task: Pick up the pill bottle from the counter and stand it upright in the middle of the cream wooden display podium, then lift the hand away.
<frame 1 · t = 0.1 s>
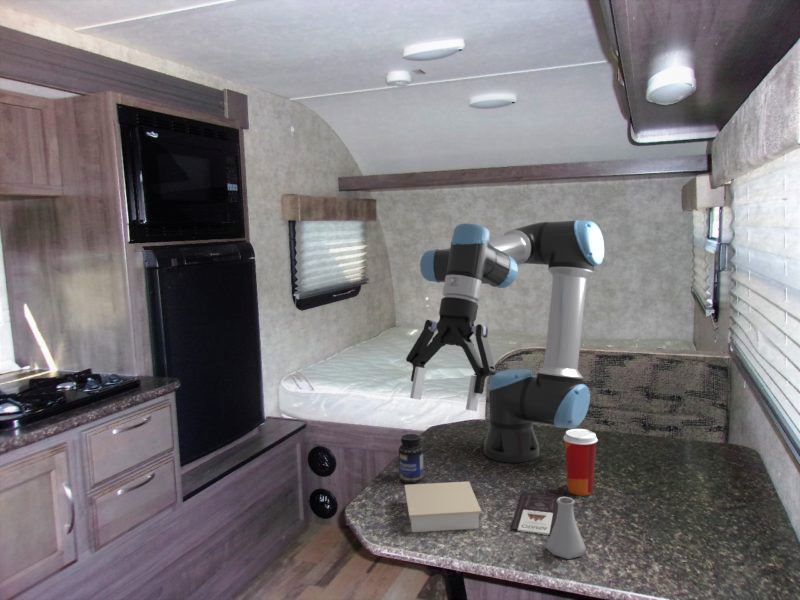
hand: (442, 404, 117), 28 cm above the table, tool tilted 20°, fingers open, 13 cm apart
flask: (565, 550, 115), on the table
paper cup: (580, 491, 140), on the table
podium: (441, 514, 130), on the table
chocolate bar: (538, 516, 130), on the table
pill bottle: (411, 479, 150), on the table
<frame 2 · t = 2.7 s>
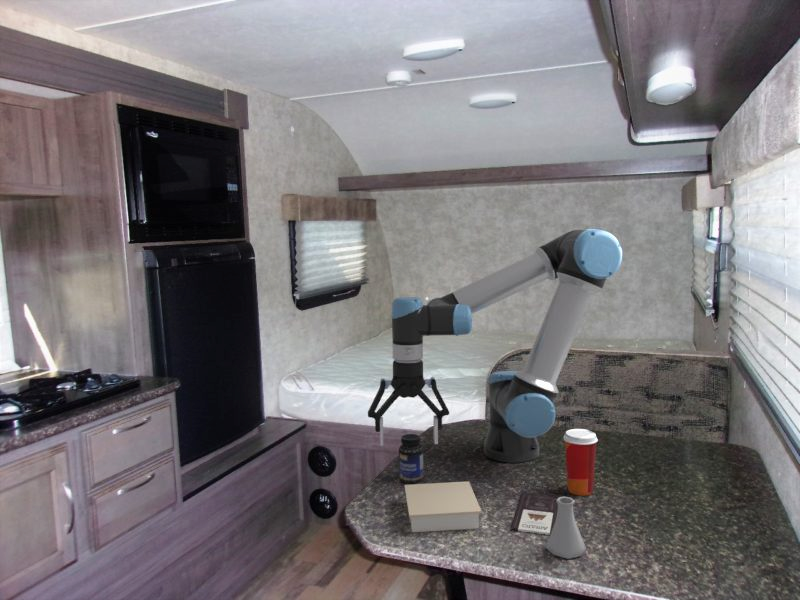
hand: (408, 443, 149), 9 cm above the table, tool pointing down, fingers open, 13 cm apart
nothing on the table moved.
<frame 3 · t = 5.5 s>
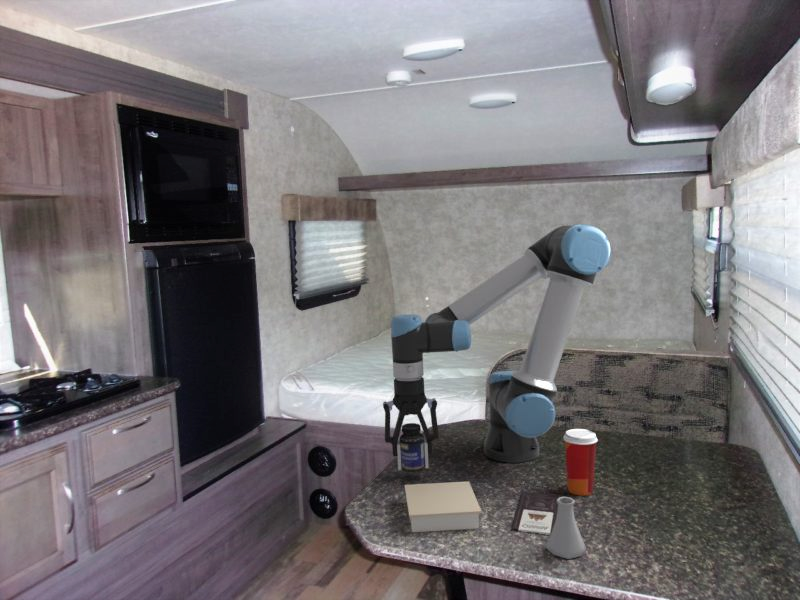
hand: (413, 466, 150), 3 cm above the table, tool pointing down, fingers closed on pill bottle, 6 cm apart
pill bottle: (413, 469, 150), point 3 cm above the table, touching gripper
everything else where it was.
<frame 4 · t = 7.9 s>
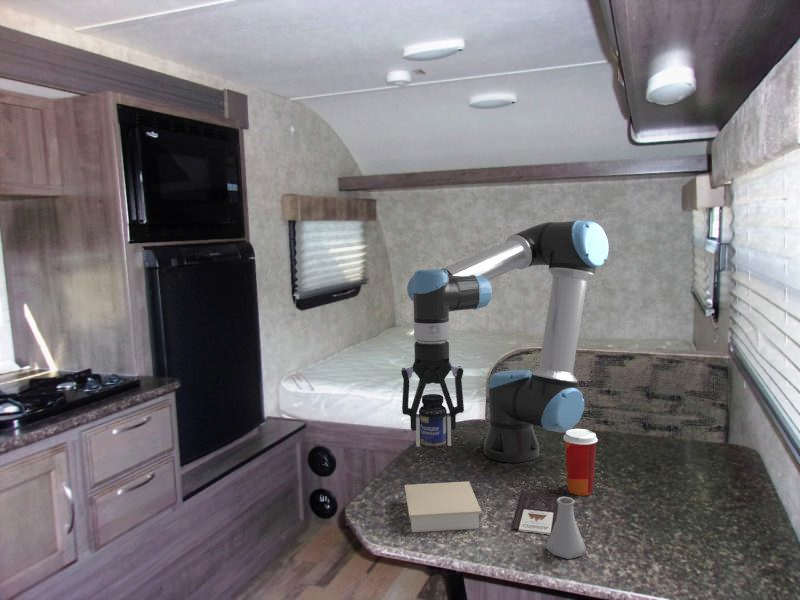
hand: (433, 443, 131), 15 cm above the table, tool pointing down, fingers closed on pill bottle, 6 cm apart
pill bottle: (433, 446, 131), point 15 cm above the table, touching gripper
everything else where it was.
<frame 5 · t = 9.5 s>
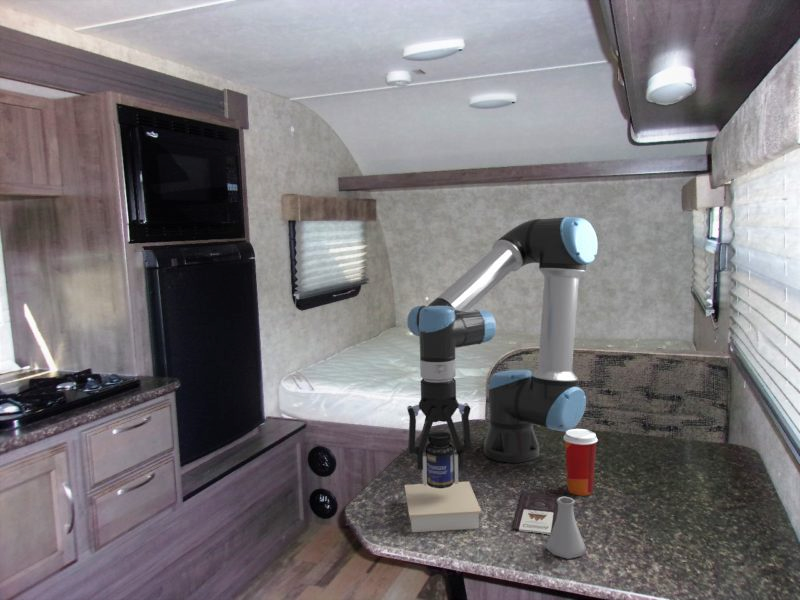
hand: (440, 482, 129), 8 cm above the table, tool pointing down, fingers closed on pill bottle, 6 cm apart
pill bottle: (440, 484, 130), point 7 cm above the table, touching gripper
everything else where it was.
when the fingers open (6 cm above the table, at t = 10.6 s): pill bottle drops 2 cm, resting on podium.
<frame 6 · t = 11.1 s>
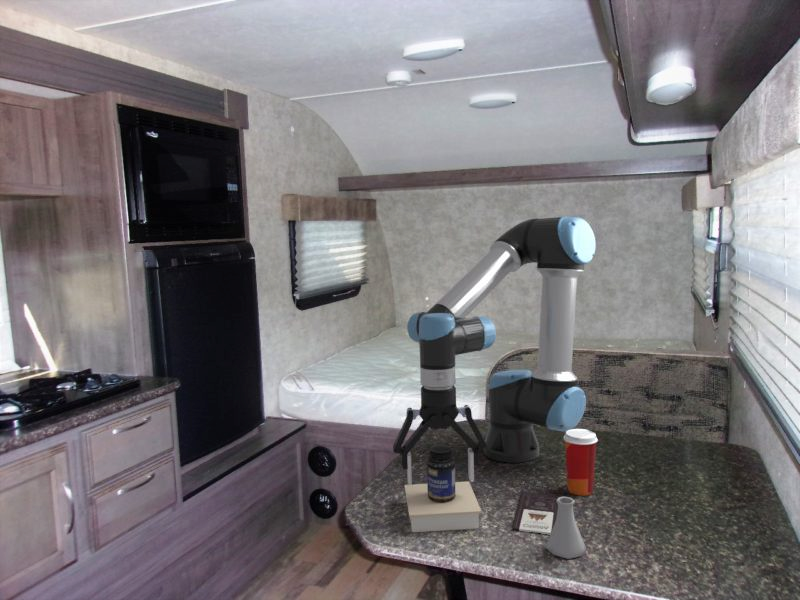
hand: (440, 481, 129), 8 cm above the table, tool pointing down, fingers open, 13 cm apart
pill bottle: (441, 497, 130), point 4 cm above the table, touching podium
everything else where it was.
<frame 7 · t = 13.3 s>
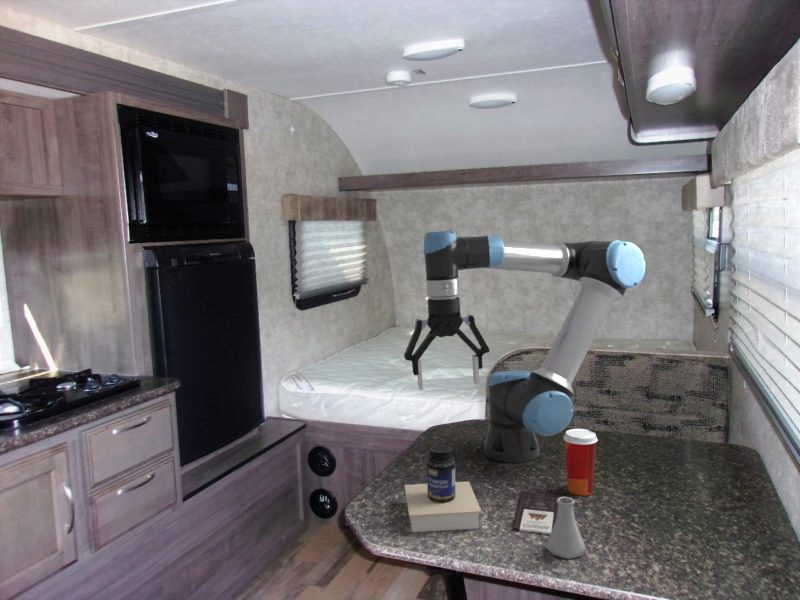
hand: (448, 385, 142), 25 cm above the table, tool pointing down, fingers open, 13 cm apart
nothing on the table moved.
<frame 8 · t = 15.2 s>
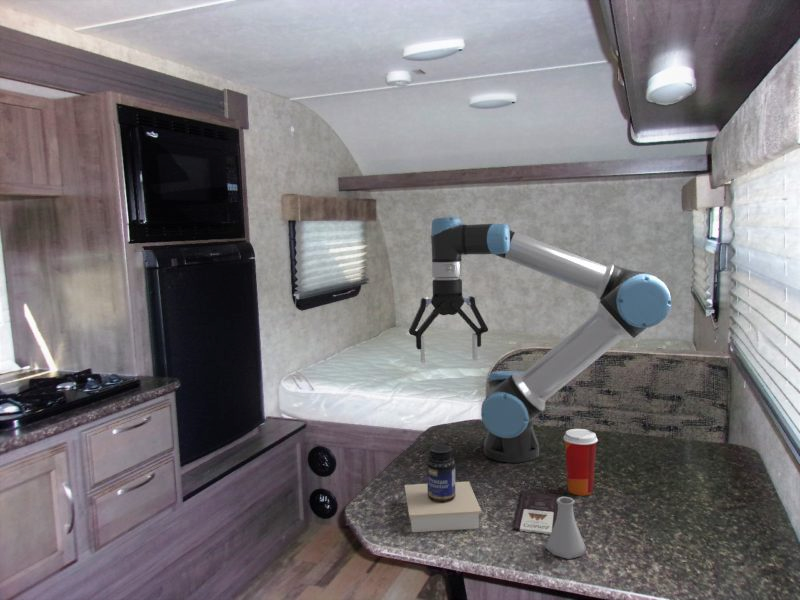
hand: (448, 360, 153), 29 cm above the table, tool pointing down, fingers open, 13 cm apart
nothing on the table moved.
at the end: pill bottle inside the target area on the podium (0.2 cm from its centre), point 3.8 cm above the podium's base; pill bottle tilted 0°; the gripper is holding nothing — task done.
